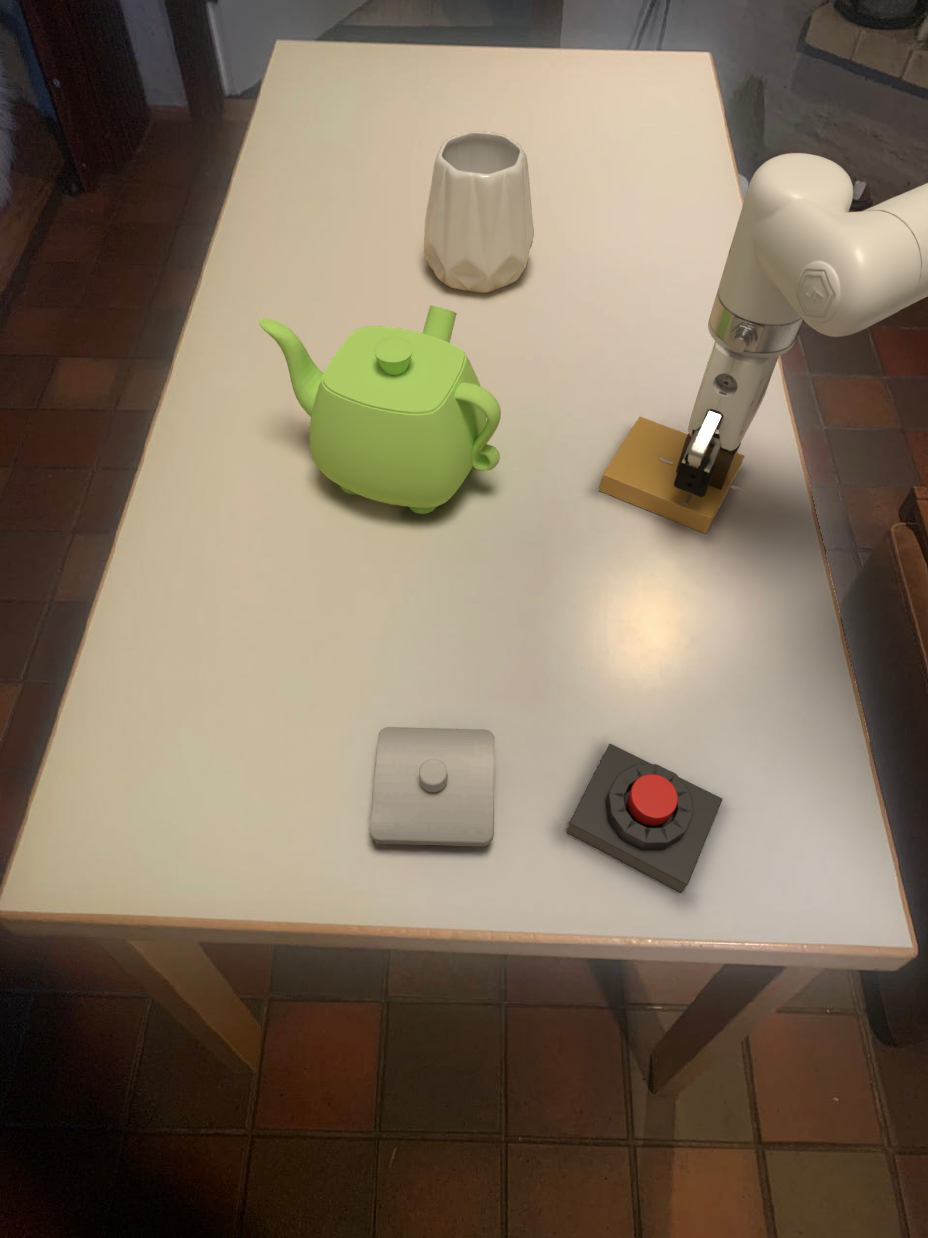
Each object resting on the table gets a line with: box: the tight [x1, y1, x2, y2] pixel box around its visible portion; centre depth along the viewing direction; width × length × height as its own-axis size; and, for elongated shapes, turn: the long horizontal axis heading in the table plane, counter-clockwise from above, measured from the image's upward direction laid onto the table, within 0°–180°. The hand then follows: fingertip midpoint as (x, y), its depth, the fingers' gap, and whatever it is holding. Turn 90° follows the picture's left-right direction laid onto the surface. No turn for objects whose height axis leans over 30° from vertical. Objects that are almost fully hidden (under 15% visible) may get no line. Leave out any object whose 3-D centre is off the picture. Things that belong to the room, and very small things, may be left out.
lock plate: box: [599, 416, 746, 534], centre depth 89 cm, size 14×10×3 cm
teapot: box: [258, 305, 502, 515], centre depth 86 cm, size 25×22×16 cm
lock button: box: [628, 774, 678, 826], centre depth 65 cm, size 4×4×2 cm
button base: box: [566, 743, 723, 893], centre depth 68 cm, size 10×8×4 cm
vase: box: [423, 130, 535, 294], centre depth 105 cm, size 14×14×15 cm
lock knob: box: [676, 432, 742, 490], centre depth 85 cm, size 5×2×5 cm, turn 61°
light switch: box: [369, 726, 495, 847], centre depth 68 cm, size 10×10×5 cm
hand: (706, 459), depth 85 cm, fingers open, 9 cm apart
